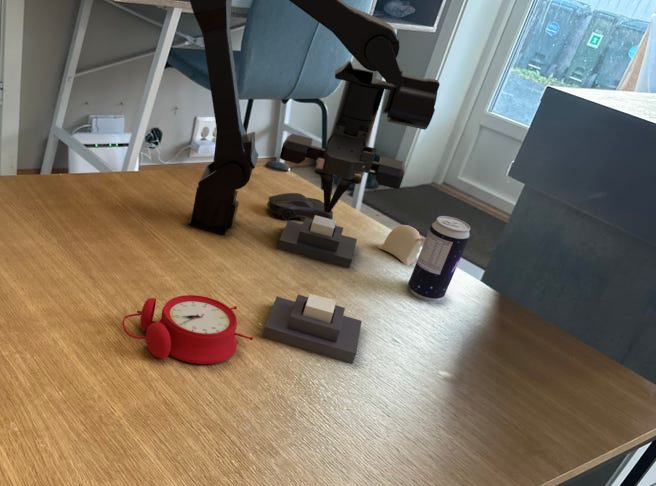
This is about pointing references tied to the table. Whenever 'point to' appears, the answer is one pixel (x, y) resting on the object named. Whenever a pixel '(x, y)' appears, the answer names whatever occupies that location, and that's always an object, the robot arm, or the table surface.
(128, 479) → the table surface
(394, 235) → the decorative ornament
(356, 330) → the front keypad
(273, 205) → the toy car
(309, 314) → the front key
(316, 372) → the table surface
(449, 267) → the beverage can
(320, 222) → the back key
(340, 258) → the back keypad
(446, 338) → the table surface
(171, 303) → the alarm clock
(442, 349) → the table surface
